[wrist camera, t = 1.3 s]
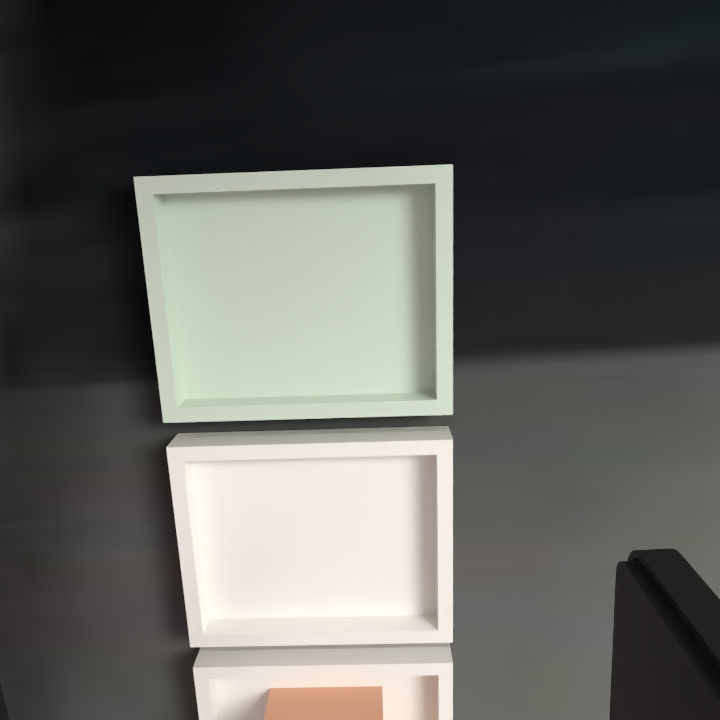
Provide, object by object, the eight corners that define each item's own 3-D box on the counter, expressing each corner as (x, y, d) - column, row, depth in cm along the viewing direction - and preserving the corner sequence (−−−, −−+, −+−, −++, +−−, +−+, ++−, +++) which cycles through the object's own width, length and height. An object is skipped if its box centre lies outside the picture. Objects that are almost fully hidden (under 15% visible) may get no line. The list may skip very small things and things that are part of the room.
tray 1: (148, 178, 23) (133, 176, 21) (447, 166, 23) (453, 164, 21) (175, 409, 25) (163, 422, 24) (448, 402, 25) (452, 414, 23)
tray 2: (177, 433, 25) (166, 447, 24) (448, 425, 25) (452, 439, 24) (200, 623, 28) (190, 647, 26) (448, 619, 27) (452, 642, 26)
